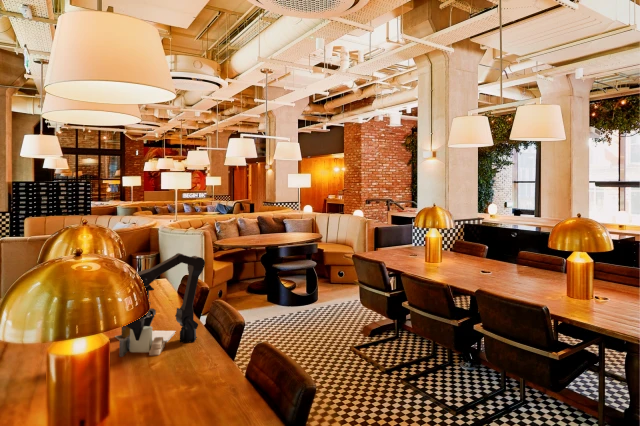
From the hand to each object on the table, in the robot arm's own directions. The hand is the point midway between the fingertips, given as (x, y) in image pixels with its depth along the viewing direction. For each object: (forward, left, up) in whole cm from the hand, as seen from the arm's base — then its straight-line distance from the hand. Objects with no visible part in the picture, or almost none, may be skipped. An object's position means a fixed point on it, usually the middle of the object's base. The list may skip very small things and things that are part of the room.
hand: (141, 336), depth 182 cm
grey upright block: (0, 0, -6) cm, 6 cm away
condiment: (+13, -17, -6) cm, 22 cm away
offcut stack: (-7, 0, -6) cm, 9 cm away
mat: (-1, -17, -6) cm, 18 cm away
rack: (+6, 0, -6) cm, 8 cm away
